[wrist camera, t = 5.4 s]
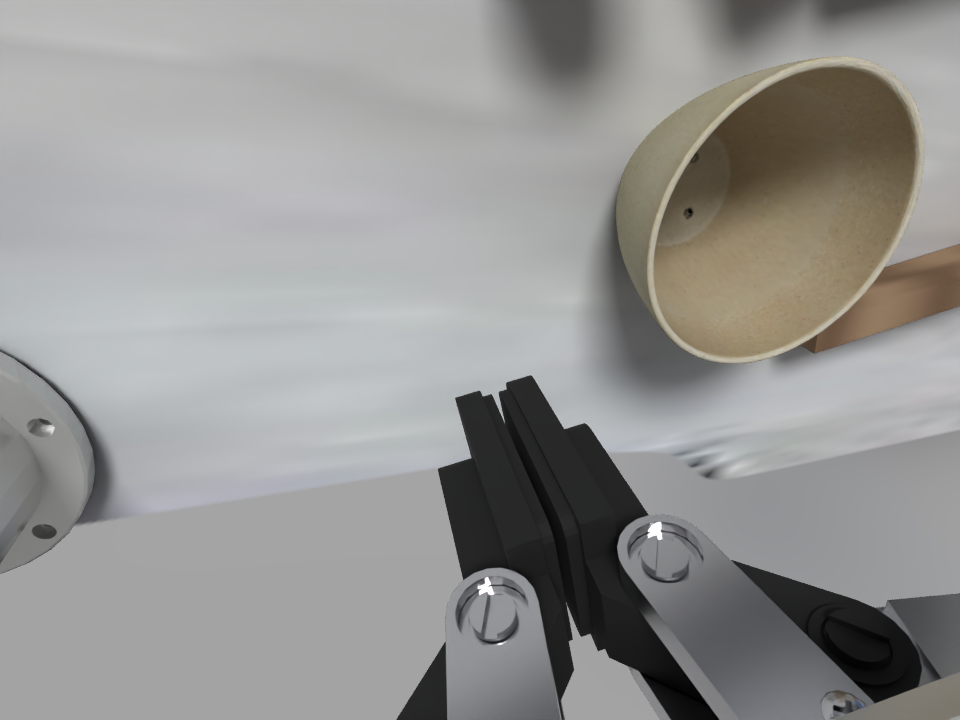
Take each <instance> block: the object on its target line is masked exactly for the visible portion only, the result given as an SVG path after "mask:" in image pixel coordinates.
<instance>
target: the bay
mask: <svg viewBox="0 0 960 720" xmlns="http://www.w3.org/2000/svg"><path fill="white" fill-rule="evenodd" d="M958 306H960V244H958V245H955V246H952V247H949V248H946V249H942V250H939V251H936V252H933V253H930V254H926V255H923V256H920V257H917V258H914V259H910V260H907V261H904V262H901V263H897V264H894V265H891V266H888V267H885V268H884V269H883V270H882V272H881V273H880V275H879V276H878V277H877V279H876V280H875V281H874V283H873V284H872V285H871V286H870V287H869V288H868V290H867V291H866V292H865V293H864V294H863V295H862V296H861V298H860V299H859V300H858V301H857V302H856V303H855V304H854V305H853V306H852V307H851V308H850V309H849V310H848V311H847V312H846V313H844V314H843V315H842V316H841V317H840V318H839V319H837V320H836V321H835V322H834V323H832V324H831V325H830V326H828V327H827V328H826V329H825V330H823V331H822V332H820V333H819V334H817V335H816V336H814V337H813V338H811V339H810V340H808V341H806V342H804V343H803V344H801V346H803V347H804V348H806V349H808V350H809V351H811V352H813V353H817V352H821V351H824V350H827V349H830V348H833V347H836V346H839V345H842V344H845V343H848V342H851V341H854V340H857V339H860V338H863V337H866V336H870V335H873V334H876V333H879V332H882V331H885V330H888V329H891V328H894V327H897V326H900V325H903V324H906V323H909V322H912V321H915V320H919V319H922V318H925V317H928V316H931V315H934V314H937V313H940V312H943V311H946V310H949V309H952V308H955V307H958Z"/></svg>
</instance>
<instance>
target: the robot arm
mask: <svg viewBox="0 0 960 720" xmlns="http://www.w3.org/2000/svg"><path fill="white" fill-rule="evenodd" d="M506 387H507V390H504V391H500V392H499V397H500V402H501V406H502V411H503V416H504V420H505V423H504V421H503V418H502V416H501V414H500V412H499V409H498V407H497V405H496V403H495V401H494V398H493V396H492V395H491V394H490V395H487V396H484V397H483V396H482V394H481V392H480V391H477V392H473V393H470V394H467V395H463V396H460V397H457V398H455V399H456V403H457V407H458V410H459V414H460V417H461V421H462V425H463V428H464V432H465V435H466V439H467V443H468V446H469V450H470V454H471V457H472V458H471V459H468V460H464V461H461V462H458V463H455V464H451V465H448V466H445V467H442V468H439V469H438V472H439V477H440V481H441V485H442V490H443V494H444V498H445V503H446V507H447V511H448V515H449V520H450V524H451V529H452V533H453V537H454V542H455V546H456V550H457V555H458V559H459V563H460V568H461V572H462V576H463V581H462V582H461V583H460V584H459V585H458V587H457V588H456V589H455V590H454V591H453V593H452V595H451V597H450V599H449V601H448V604H447V609H446V616H445V630H446V642H445V643H444V645H443V646H442V648H441V650H440V651H439V653H438V654H437V656H436V658H435V659H434V661H433V662H432V664H431V665H430V667H429V669H428V670H427V672H426V673H425V675H424V677H423V678H422V680H421V681H420V683H419V685H418V686H417V688H416V690H415V691H414V693H413V694H412V696H411V697H410V699H409V700H408V702H407V704H406V705H405V707H404V709H403V710H402V712H401V713H400V715H399V716H398V718H397V720H565V716H564V712H563V706H562V702H561V699H562V696H563V694H564V692H565V689H566V687H567V685H568V682H569V680H570V678H571V675H572V673H573V671H574V668H573V662H572V657H571V652H570V647H569V641H570V640H572V632H571V627H570V622H569V616H568V611H567V605H568V608H569V610H570V612H571V615H572V617H573V620H574V622H575V625H576V627H577V630H578V632H579V634H580V636H581V637H582V636H585V635H587V634H591V636H592V638H593V640H594V643H595V645H596V647H597V650H598V651H600V650H603V649H606V652H607V654H608V656H609V658H612V659H614V660H616V661H618V662H620V663H622V664H625V665H627V666H628V667H629V669H630V671H631V674H632V676H633V678H634V680H635V681H636V683H637V684H638V686H639V687H640V689H641V691H642V692H643V694H644V695H645V697H646V698H647V700H648V701H649V702H650V704H651V706H652V708H653V709H654V711H655V712H656V714H657V715H658V717H659V718H660V720H960V593H958V594H947V595H937V596H926V597H916V598H906V599H894V600H887V603H886V606H885V607H877V608H874V607H871V606H869V605H867V604H865V603H862V602H860V601H858V600H854V599H852V598H848V597H845V596H842V595H839V594H836V593H833V592H829V591H826V590H823V589H820V588H817V587H814V586H811V585H808V584H805V583H801V582H798V581H795V580H792V579H789V578H786V577H783V576H780V575H777V574H774V573H770V572H767V571H764V570H761V569H758V568H754V567H751V566H749V565H745V564H742V563H739V562H736V561H733V560H730V559H729V558H728V557H727V556H726V555H725V554H724V553H723V552H722V551H721V550H720V549H719V548H718V547H717V546H716V545H715V544H714V543H713V542H712V541H711V540H710V539H709V538H708V537H707V536H706V535H705V534H704V533H703V532H702V531H701V530H700V529H698V528H697V527H696V526H694V525H693V524H692V523H690V522H688V521H686V520H683V519H681V518H679V517H674V516H670V515H663V514H661V515H648V513H647V512H646V511H645V509H644V508H643V506H642V505H641V503H640V502H639V500H638V499H637V497H636V496H635V494H634V493H633V491H632V490H631V488H630V487H629V485H628V484H627V482H626V481H625V479H624V478H623V476H622V475H621V473H620V472H619V470H618V469H617V467H616V466H615V464H614V463H613V462H612V460H611V459H610V457H609V455H608V454H607V452H606V451H605V449H604V448H603V446H602V445H601V444H600V442H599V441H598V439H597V438H596V436H595V435H594V433H593V432H592V430H591V429H590V428H589V426H588V425H587V424H585V423H584V424H580V425H577V426H574V427H571V428H567V429H564V428H563V427H562V425H561V423H560V422H559V420H558V418H557V417H556V415H555V413H554V412H553V410H552V408H551V407H550V405H549V403H548V402H547V400H546V398H545V397H544V395H543V393H542V392H541V390H540V388H539V387H538V385H537V383H536V382H535V380H534V378H533V377H532V376H531V375H530V376H527V377H524V378H520V379H517V380H513V381H510V382H507V383H506ZM94 477H95V464H94V456H93V449H92V447H91V444H90V442H89V439H88V437H87V434H86V432H85V429H84V427H83V425H82V424H81V422H80V421H79V419H78V418H77V417H76V415H75V414H74V412H73V411H72V409H71V408H70V407H69V405H68V404H67V402H66V401H64V400H63V399H62V398H61V397H60V396H59V395H58V394H57V393H56V392H55V391H54V390H53V389H52V388H51V387H50V386H49V385H48V384H47V383H46V382H45V381H44V380H43V379H41V378H40V377H39V376H37V375H36V374H34V373H33V372H32V371H30V370H29V369H27V368H26V367H25V366H23V365H22V364H20V363H19V362H18V361H16V360H15V359H13V358H11V357H9V356H7V355H6V354H4V353H2V352H0V574H1V573H4V572H7V571H9V570H12V569H14V568H17V567H19V566H22V565H24V564H26V563H29V562H31V561H32V560H34V559H36V558H37V557H39V556H41V555H42V554H44V553H46V552H47V551H49V550H51V549H52V548H53V547H54V546H55V545H56V544H57V543H59V542H60V541H61V540H62V539H63V538H64V537H65V536H66V535H67V534H68V533H69V532H70V530H71V529H72V527H73V526H74V524H75V523H76V521H77V520H78V518H79V517H80V515H81V514H82V512H83V510H84V508H85V506H86V503H87V501H88V499H89V497H90V495H91V493H92V489H93V483H94ZM566 603H567V605H566Z"/></svg>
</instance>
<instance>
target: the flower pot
mask: <svg viewBox="0 0 960 720" xmlns="http://www.w3.org/2000/svg"><path fill="white" fill-rule="evenodd" d="M923 168H924V133H923V127H922V122H921V118H920V115H919V110H918V108H917V106H916V103H915V101H914V99H913V97H912V96H911V94H910V93H909V91H908V90H907V88H906V87H905V86H904V85H903V83H902V82H901V81H900V80H899V79H898V78H897V77H896V76H895V75H893V74H892V73H891V72H889V71H887V70H886V69H885V68H883V67H882V66H880V65H878V64H875V63H873V62H870V61H867V60H863V59H858V58H851V57H824V58H817V59H809V60H804V61H798V62H793V63H788V64H784V65H780V66H776V67H772V68H769V69H765V70H761V71H758V72H755V73H752V74H749V75H746V76H743V77H741V78H738V79H735V80H733V81H730V82H728V83H725V84H723V85H721V86H719V87H717V88H714V89H712V90H710V91H708V92H706V93H704V94H702V95H701V96H699V97H697V98H695V99H693V100H692V101H690V102H689V103H687V104H686V105H684V106H683V107H681V108H680V109H678V110H677V111H675V112H674V113H673V114H671V115H670V116H669V117H667V118H666V119H665V120H664V121H663V122H661V123H660V124H659V125H658V126H657V127H656V128H655V129H654V130H653V131H652V132H651V133H650V134H649V135H648V136H647V137H646V138H645V139H644V140H643V142H642V143H641V144H640V145H639V147H638V148H637V149H636V151H635V152H634V154H633V155H632V157H631V159H630V160H629V162H628V164H627V166H626V168H625V170H624V173H623V176H622V179H621V182H620V185H619V190H618V195H617V203H616V224H617V234H618V240H619V245H620V249H621V253H622V257H623V260H624V263H625V266H626V269H627V271H628V274H629V276H630V278H631V280H632V282H633V285H634V287H635V289H636V290H637V292H638V294H639V296H640V298H641V299H642V301H643V303H644V304H645V306H646V307H647V309H648V310H649V312H650V313H651V315H652V316H653V318H654V319H655V320H656V322H657V323H658V324H659V325H660V327H661V328H662V329H663V330H664V332H665V333H666V334H667V335H668V336H669V337H670V338H671V340H672V341H673V342H675V343H676V344H677V345H678V346H679V347H681V348H682V349H684V350H685V351H687V352H688V353H690V354H692V355H694V356H697V357H699V358H701V359H705V360H708V361H712V362H717V363H729V364H740V363H751V362H755V361H761V360H764V359H768V358H771V357H774V356H777V355H779V354H782V353H785V352H787V351H789V350H791V349H793V348H795V347H797V346H799V345H801V344H803V343H804V342H806V341H808V340H810V339H811V338H813V337H814V336H816V335H817V334H819V333H820V332H822V331H823V330H825V329H826V328H827V327H828V326H830V325H831V324H832V323H834V322H835V321H836V320H837V319H839V318H840V317H841V316H842V315H843V314H844V313H846V312H847V311H848V310H849V309H850V308H851V307H852V306H853V305H854V304H855V303H856V302H857V301H858V300H859V299H860V298H861V296H862V295H863V294H864V293H865V292H866V291H867V290H868V288H869V287H870V286H871V285H872V284H873V283H874V281H875V280H876V279H877V277H878V276H879V275H880V273H881V272H882V270H883V269H884V267H885V266H886V264H887V263H888V261H889V260H890V258H891V256H892V255H893V253H894V252H895V250H896V248H897V246H898V244H899V243H900V241H901V239H902V236H903V234H904V233H905V230H906V228H907V226H908V224H909V221H910V219H911V216H912V214H913V211H914V208H915V204H916V202H917V198H918V195H919V191H920V186H921V182H922V175H923ZM688 208H690V209H691V210H692V213H689V212H688Z"/></svg>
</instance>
